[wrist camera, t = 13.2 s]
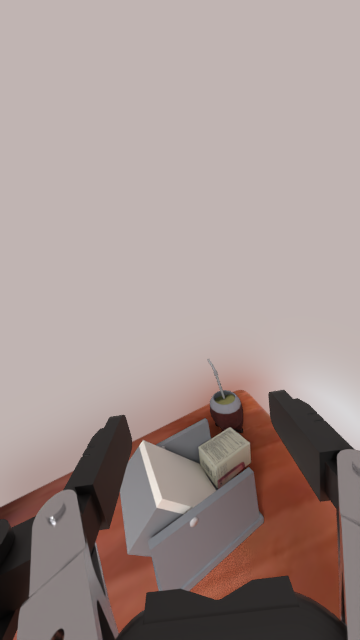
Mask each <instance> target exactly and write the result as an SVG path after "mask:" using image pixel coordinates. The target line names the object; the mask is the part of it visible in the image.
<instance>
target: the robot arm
mask: <svg viewBox="0 0 360 640" xmlns="http://www.w3.org/2000/svg"><path fill="white" fill-rule="evenodd" d="M269 407H270V417H271V421H272V424H273V427H274V429H275V430H276V432H277V434H278V435H279V437H280V438H281V440H282V442H283V443H284V445H285V446H286V448H287V449H288V451H289V453H290V454H291V456H292V457H293V459H294V461H295V462H296V464H297V465H298V467H299V469H300V470H301V472H302V473H303V475H304V477H305V478H306V480H307V481H308V483H309V485H310V486H311V488H312V489H313V491H314V493H315V494H316V496H317V497H318V499H319V500H320V502H321V501H328V500H331V502H332V503H333V505H334V506H335V508H336V516H337V541H338V567H339V608H340V620H339V619H338V618H337V617H336V616H335V615H334V614H333V613H331V612H330V611H329V610H327V609H326V608H325V607H324V606H322V605H321V604H319V603H317V602H316V601H314V600H313V599H311V598H309V597H306V596H304V595H302V594H300V593H296V592H294V591H293V588H292V585H291V582H290V580H289V577H288V576H281V577H273V578H265V579H256V580H252V581H250V582H248V583H247V584H245V585H243V586H242V587H240V588H239V589H237V590H235V591H234V592H232V593H230V594H229V595H227V596H225V597H224V598H222V599H220V600H214V599H211V598H208V597H205V596H202V595H199V594H196V593H193V592H190V591H187V590H183V589H173V590H164V591H156V592H148V593H147V594H146V603H145V610H144V611H142V612H140V613H139V614H138V615H137V616H136V617H134V618H133V619H132V620H131V621H130V622H129V623H128V624H127V625H126V626H125V627H124V628H123V630H122V631H121V632H120V633H118V630H117V626H116V623H115V619H114V616H113V613H112V610H111V606H110V602H109V598H108V594H107V589H106V585H105V580H104V576H103V571H102V567H101V562H100V558H99V554H98V549H97V545H96V542H95V541H96V538H97V535H98V532H99V530H103V529H109V528H110V524H111V521H112V517H113V514H114V510H115V506H116V503H117V499H118V496H119V492H120V489H121V485H122V482H123V478H124V474H125V471H126V467H127V464H128V460H129V457H130V453H131V449H132V438H131V434H130V430H129V427H128V424H127V420H126V417H125V415H119V416H113V417H110V418H109V419H108V421H107V423H106V425H105V427H104V428H102V429H100V430H99V431H98V432H97V433H96V434H95V435H94V436H93V437H92V439H91V441H90V443H89V444H88V446H87V449H86V450H85V452H84V453H83V457H81V459H80V461H79V463H78V465H77V466H76V468H75V470H74V472H73V473H72V475H71V477H70V479H69V481H68V483H67V484H66V486H65V488H64V490H63V491H61V492H59V493H57V494H56V495H54V496H53V497H52V498H50V499H49V500H48V501H47V502H46V503H45V504H44V505H43V507H42V508H41V509H40V511H39V512H38V514H37V515H36V516H35V517H33V518H31V519H29V520H27V521H25V522H23V523H21V524H18V525H16V526H14V527H12V528H11V526H10V525H9V523H8V521H7V520H5V519H0V640H13V638H14V636H15V633H16V631H17V629H18V632H17V640H360V451H358V450H355V449H353V448H352V447H351V446H350V445H349V444H348V443H347V442H346V441H345V440H344V439H343V438H342V437H341V436H340V435H339V434H338V433H337V432H336V431H335V430H334V429H333V428H332V427H331V426H330V425H329V424H328V423H327V422H326V421H324V419H323V418H322V417H321V416H320V415H319V414H317V412H316V411H315V410H314V409H313V408H312V407H311V406H310V405H309V404H307V403H305V402H303V401H302V400H300V399H298V398H297V399H292V397H291V396H290V395H289V394H288V393H287V392H286V391H285V390H280V391H273V392H269Z"/></svg>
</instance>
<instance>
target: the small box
mask: <svg viewBox="0 0 360 640" xmlns="http://www.w3.org/2000/svg"><path fill="white" fill-rule="evenodd" d="M198 449H199V458H200V465H201V467H202V468H203V470H204V471H205V473H206V474H207V475H208V477H209V478H210V479H211V481H212V482H213V483H214V485H215V486H216V487H217V488H218V489H219V488H221V487H222V486H223V485H224V484H225V483H227V482H228V481H229V480H230V479H232V478H233V477H234V476H235V475H236V474H238V473H239V472H240V471H241V470H242V469H244V468H245V467H246V466H247V465H249V464H250V463H251V452H250V443H249V442H248V441H247V440H246V439H244V438H243V437H242V436H241V435H240V434H238V433H237V432H236V431H234V430H233V429H232V428H231V427H229V428H227V429H226V430H224V431H223V432H221V433H220V434H218V435H216V436H215V437H213V438H212V439H210V440H209V441H207V442H205V443H204V444H202V445H201V446H199V447H198Z"/></svg>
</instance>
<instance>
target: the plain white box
mask: <svg viewBox="0 0 360 640" xmlns="http://www.w3.org/2000/svg"><path fill="white" fill-rule="evenodd" d="M215 491H216V490H215V488H214V486H213V485H212V483H211V481H210V480H209V478H208V477H207V475H206V473H205V472H204V470H203V468H202V467H201V465H200V464H199V463H196V462H194V461H192V460H189V459H187V458H185V457H182V456H180V455H177V454H175V453H173V452H170V451H168V450H165V449H163V448H161V447H158V446H156V445H154V444H151V443H149V442H146V441H144V440H143V441H142V442H141V444H140V445H139V447H138V448H137V450H136V451H135V453H134V454H133V456H132V457H131V459H130V460H129V462H128V464H127V467H126V471H125V474H124V478H123V482H122V485H121V489H120V495H121V504H122V512H123V520H124V528H125V536H126V544H127V552H128V554H130V555H140V556H150V557H152V556H151V552H150V549H149V544H148V540H150V539H151V538H152V537H154V536H155V535H157V534H158V533H159V532H161V531H162V530H163V529H165V528H166V527H167V526H169V525H170V524H172V523H173V522H174V521H176V520H177V519H178V518H180V517H181V516H182V515H183V514H185V513H187V512H188V511H189V510H190V509H192V508H193V507H195V506H196V505H198V504H199V503H200V502H202V501H203V500H204V499H206V498H207V497H208V496H210V495H211V494H213V493H214V492H215Z"/></svg>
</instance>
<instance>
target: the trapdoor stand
mask: <svg viewBox="0 0 360 640" xmlns="http://www.w3.org/2000/svg"><path fill="white" fill-rule="evenodd" d="M210 439H211V436H210V430H209V425H208V420H207V419H206V418H205V419H203V420H201V421H199V422H197V423H195V424H193V425H192V426H190V427H188V428H186V429H184V430H182V431H180V432H179V433H177V434H175V435H173V436H171V437H169V438H167V439H166V440H164V441H162V442H160V443H158V444H156V446H158V447H161V448H163V449H165V450H168V451H170V452H173V453H175V454H177V455H180V456H182V457H185V458H187V459H189V460H192V461H194V462H196V463H199V464H200V458H199V449H198V447H199V446H201V445H202V444H204V443H205V442H207V441H209V440H210ZM130 459H131V458H130ZM204 472H205V471H204ZM206 475H207V474H206ZM207 477H208V475H207ZM208 478H209V477H208ZM209 480H210V481H211V479H210V478H209ZM211 483H212V485H213V486H214V488H215V490H216V491H215V492H214V493H213V494H211V495H210V496H208V497H207V498H206V499H204V500H203V501H202V502H200V503H199V504H198V505H196V506H195V507H193V508H192V509H190V510H189V511H188V512H187V513H185V514H183V515H182V516H181V517H180V518H178V519H177V520H176V521H174V522H173V523H172V524H170V525H169V526H167V527H166V528H165V529H163V530H162V531H161V532H159V533H158V534H157V535H155V536H154V537H152V538H151V539H150V540H148V544H149V549H150V552H151V556H152V561H153V566H154V571H155V575H156V580H157V585H158V589H159V591H164V590H173V589H183V590H187V591H190V590H191V589H192V588H193V587H194V586H195V585H196V584H197V583H198V582H199V581H200V580H202V579H203V578H204V577H205V576H206V575H207V574H208V573H209V572H210V571H211V570H212V569H214V568H215V567H216V566H217V565H218V564H219V563H220V562H221V561H222V560H223V559H224V558H226V557H227V556H228V555H229V554H230V553H231V552H232V551H233V550H234V549H235V548H236V547H238V546H239V545H240V544H241V543H242V542H243V541H244V540H245V539H246V538H247V537H248V536H250V535H251V534H252V533H253V532H254V531H255V530H256V529H257V528H258V527H259V526H260V525H262V524H263V523H264V517H263V516H262V514H261V513H260V512H259V509H258V502H257V494H256V486H255V479H254V472H253V471H252V470H251V469H250V467H248V468H247V469H245V470H244V471H243V472H241V473H240V474H239V475H237V476H236V477H233V478H232V479H230V480H229V481H228V482H227V483H225V484H224V485H223V486H222V487H221V488H219V489H218V488H217V487H216V486H215V485H214V483H213V482H212V481H211Z"/></svg>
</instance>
